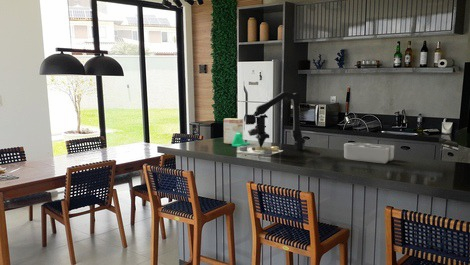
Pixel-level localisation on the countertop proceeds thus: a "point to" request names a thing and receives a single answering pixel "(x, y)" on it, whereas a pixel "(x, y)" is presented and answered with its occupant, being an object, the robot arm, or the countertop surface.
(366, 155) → the ice cube tray
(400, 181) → the countertop surface
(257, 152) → the leveling plate
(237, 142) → the green tapered piece
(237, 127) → the coffeecake box
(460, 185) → the countertop surface
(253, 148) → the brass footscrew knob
